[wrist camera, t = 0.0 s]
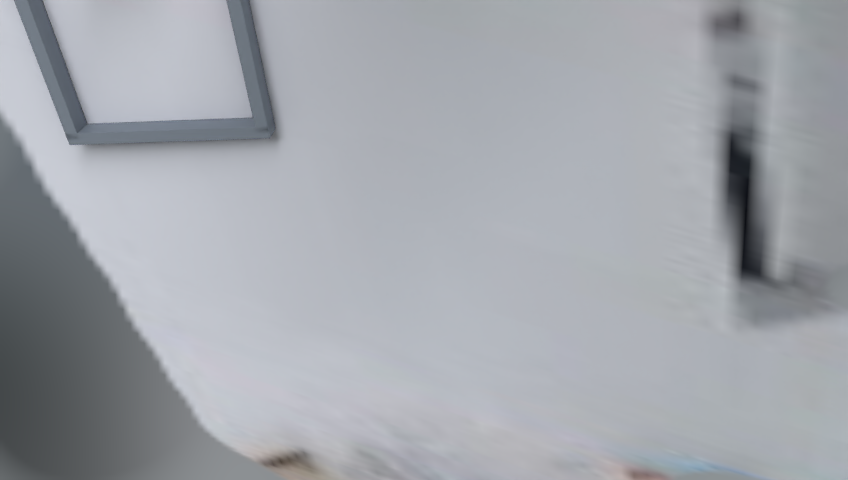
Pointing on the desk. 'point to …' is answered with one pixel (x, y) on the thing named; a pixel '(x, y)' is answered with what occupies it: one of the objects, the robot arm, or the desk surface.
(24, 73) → the desk surface
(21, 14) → the grey frame
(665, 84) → the desk surface
